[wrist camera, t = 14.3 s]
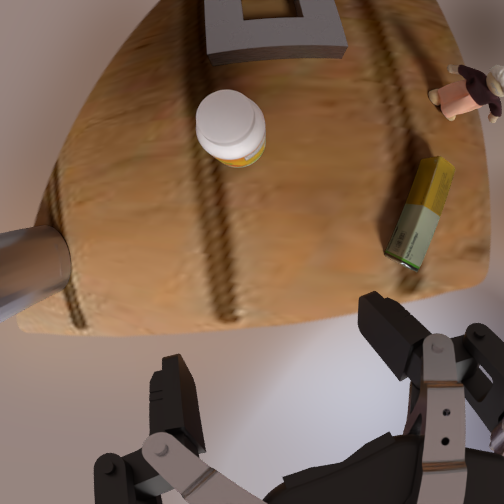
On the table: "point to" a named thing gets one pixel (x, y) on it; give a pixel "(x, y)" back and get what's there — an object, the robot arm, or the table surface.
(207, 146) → the supplement bottle
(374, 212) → the table surface
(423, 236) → the medication box
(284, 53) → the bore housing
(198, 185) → the table surface
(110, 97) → the table surface
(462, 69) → the grandmother figurine
